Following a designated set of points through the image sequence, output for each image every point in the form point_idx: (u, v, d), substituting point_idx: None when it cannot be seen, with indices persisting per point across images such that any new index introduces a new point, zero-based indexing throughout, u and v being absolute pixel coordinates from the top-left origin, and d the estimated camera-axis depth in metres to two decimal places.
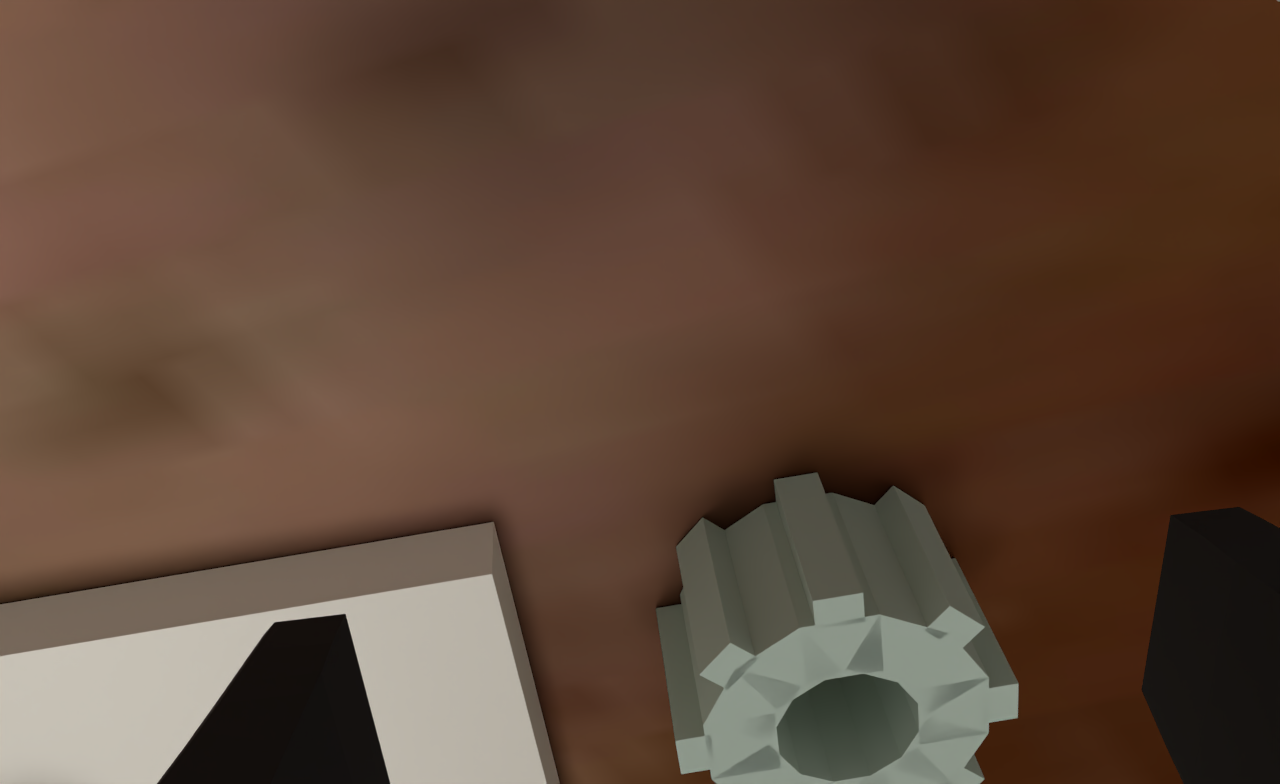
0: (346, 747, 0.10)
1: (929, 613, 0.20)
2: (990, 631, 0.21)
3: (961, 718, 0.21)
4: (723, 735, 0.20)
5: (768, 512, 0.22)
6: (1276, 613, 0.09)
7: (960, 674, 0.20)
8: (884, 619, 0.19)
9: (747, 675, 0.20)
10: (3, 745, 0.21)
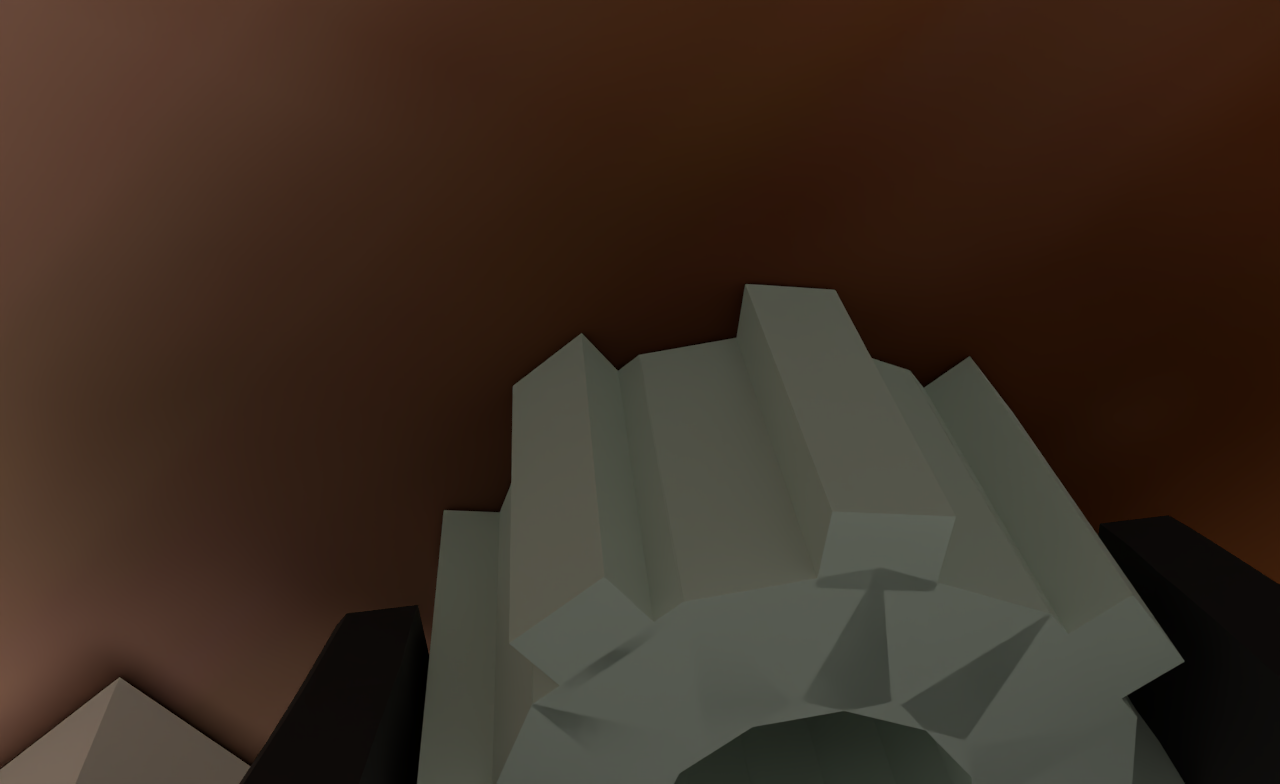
0: None
1: (814, 542, 0.08)
2: (1058, 484, 0.09)
3: (1049, 716, 0.09)
4: None
5: None
6: (1194, 623, 0.09)
7: (974, 635, 0.08)
8: (703, 609, 0.08)
9: None
10: None
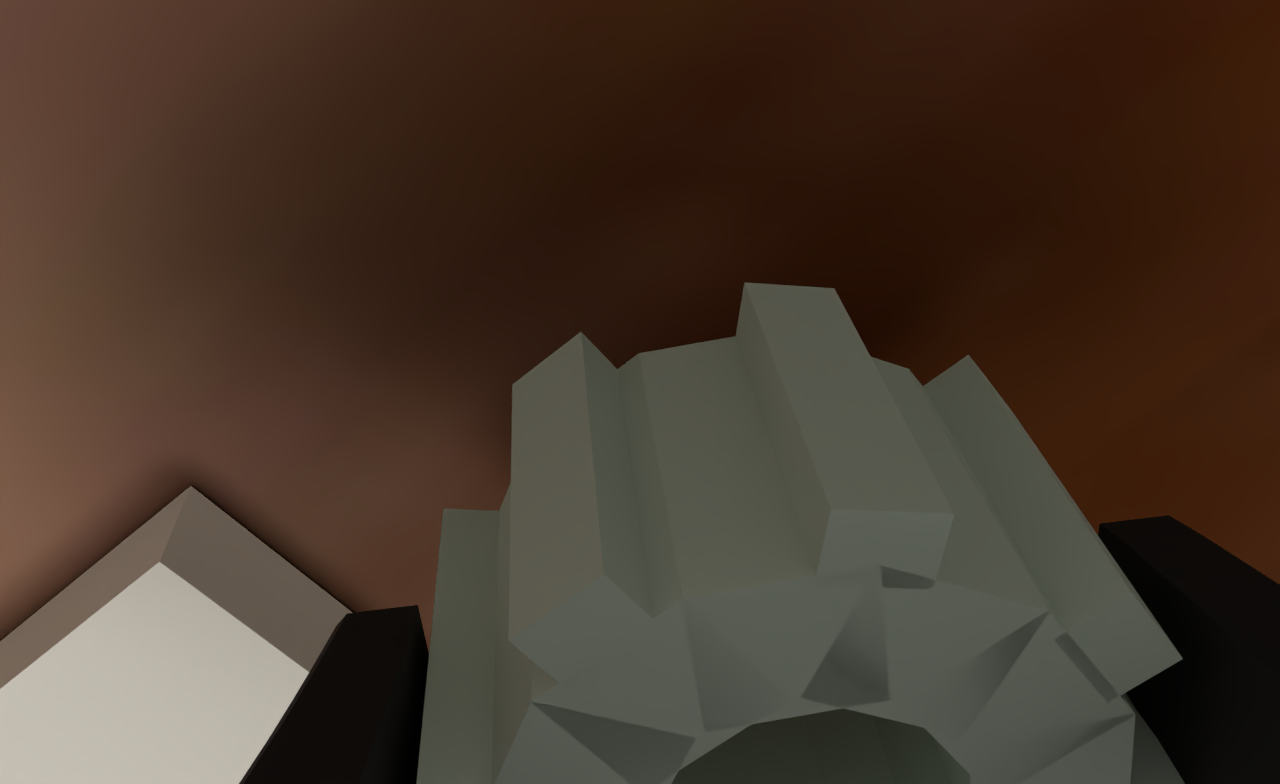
0: None
1: (813, 539, 0.08)
2: (1057, 483, 0.09)
3: (1048, 714, 0.09)
4: None
5: None
6: (1194, 623, 0.09)
7: (974, 633, 0.08)
8: (701, 607, 0.08)
9: None
10: None
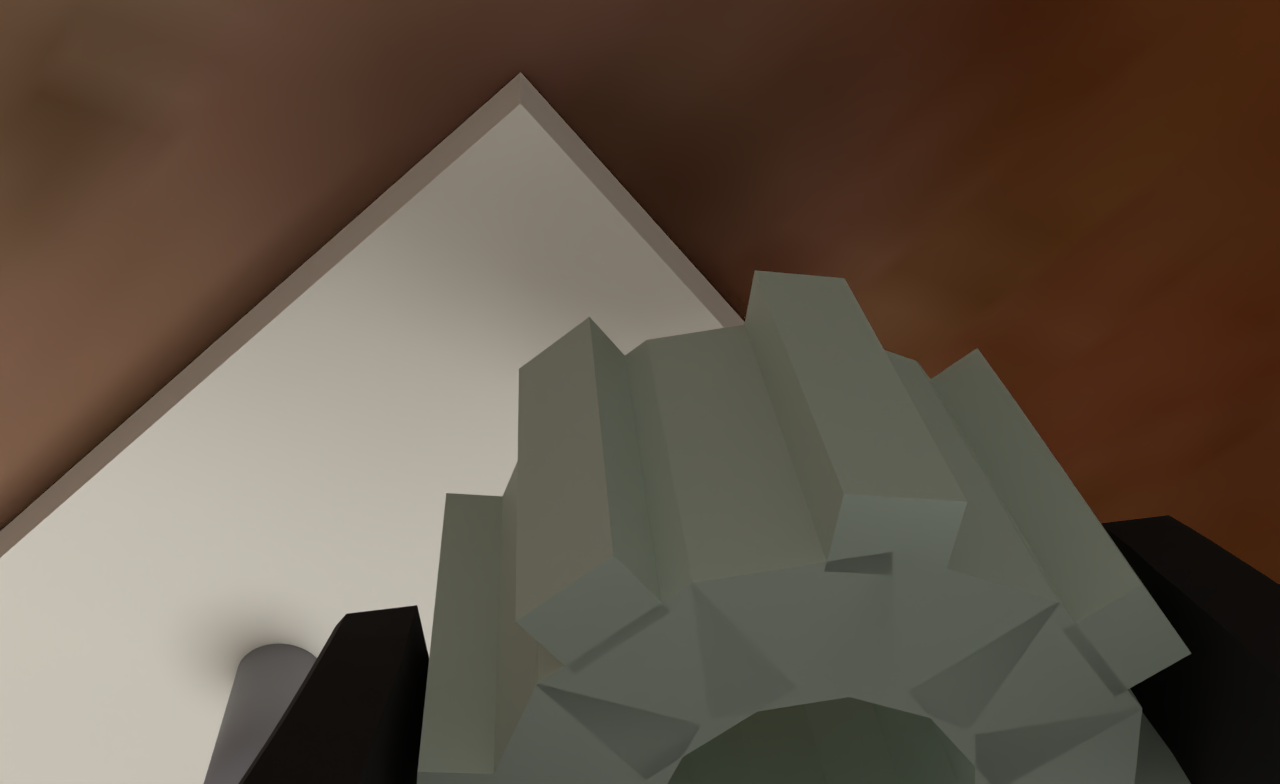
0: None
1: (824, 525, 0.08)
2: None
3: (1055, 707, 0.09)
4: None
5: None
6: (1193, 622, 0.09)
7: (982, 623, 0.08)
8: (710, 590, 0.08)
9: None
10: (160, 589, 0.18)
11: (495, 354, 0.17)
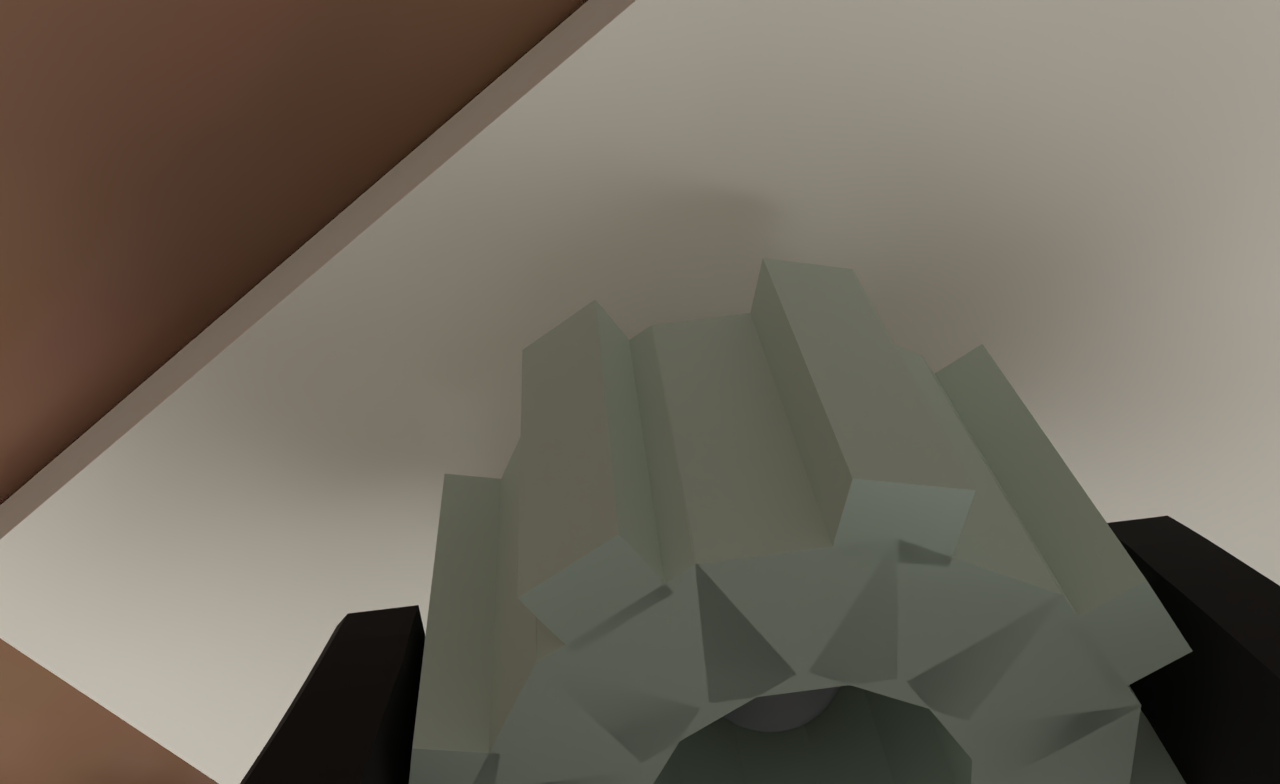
0: None
1: (830, 511, 0.08)
2: None
3: (1054, 701, 0.09)
4: None
5: None
6: (1194, 623, 0.09)
7: (987, 614, 0.08)
8: (713, 572, 0.08)
9: None
10: (577, 300, 0.13)
11: None
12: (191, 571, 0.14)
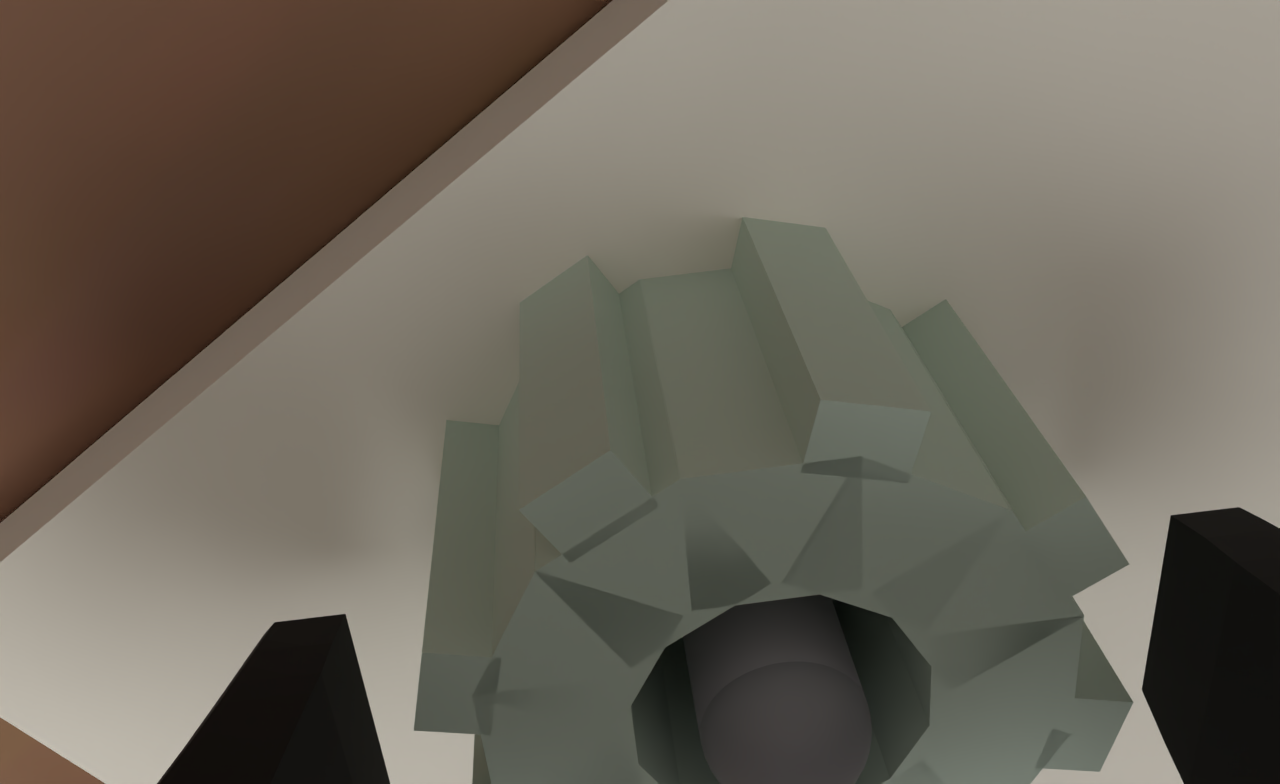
0: (346, 747, 0.10)
1: (801, 432, 0.09)
2: None
3: (1005, 611, 0.09)
4: None
5: None
6: (1276, 613, 0.09)
7: (941, 528, 0.09)
8: (698, 486, 0.09)
9: (506, 697, 0.09)
10: None
11: None
12: (168, 625, 0.13)
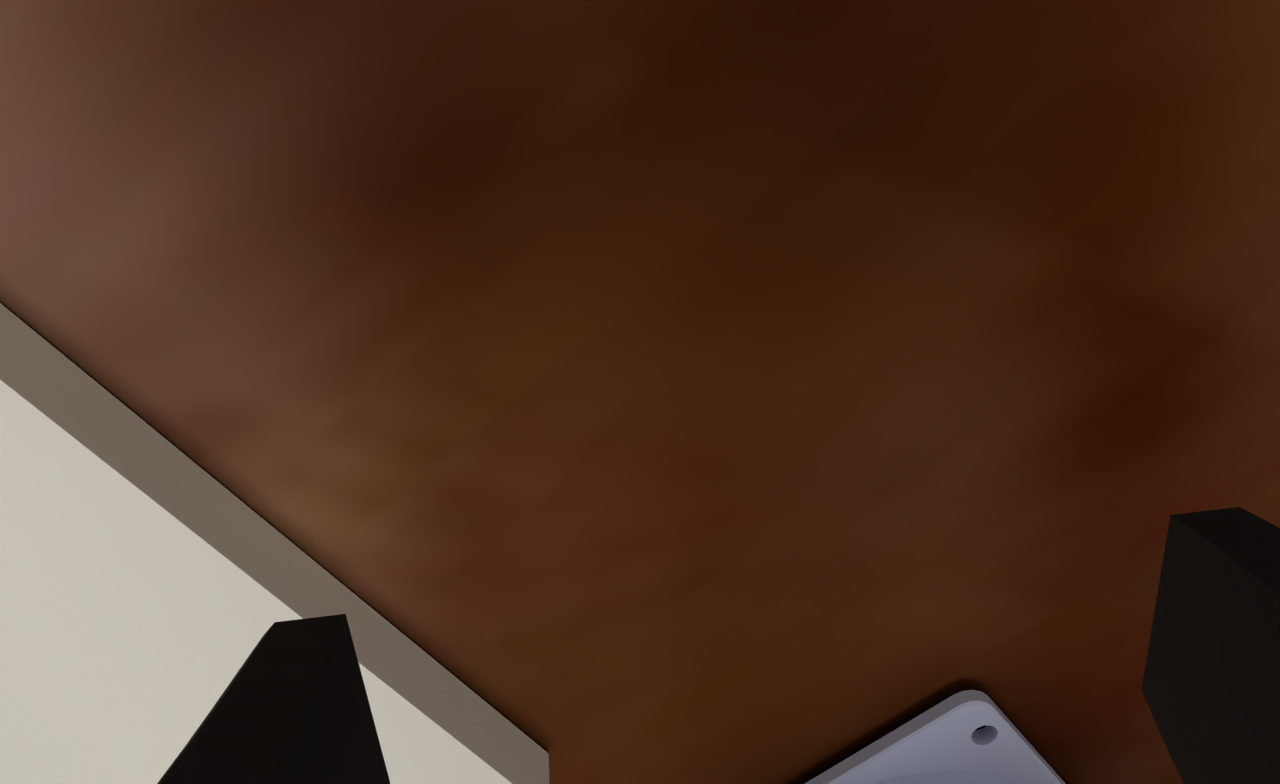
0: (346, 747, 0.10)
1: None
2: None
3: None
4: None
5: None
6: (1276, 613, 0.09)
7: None
8: None
9: None
10: None
11: None
12: None
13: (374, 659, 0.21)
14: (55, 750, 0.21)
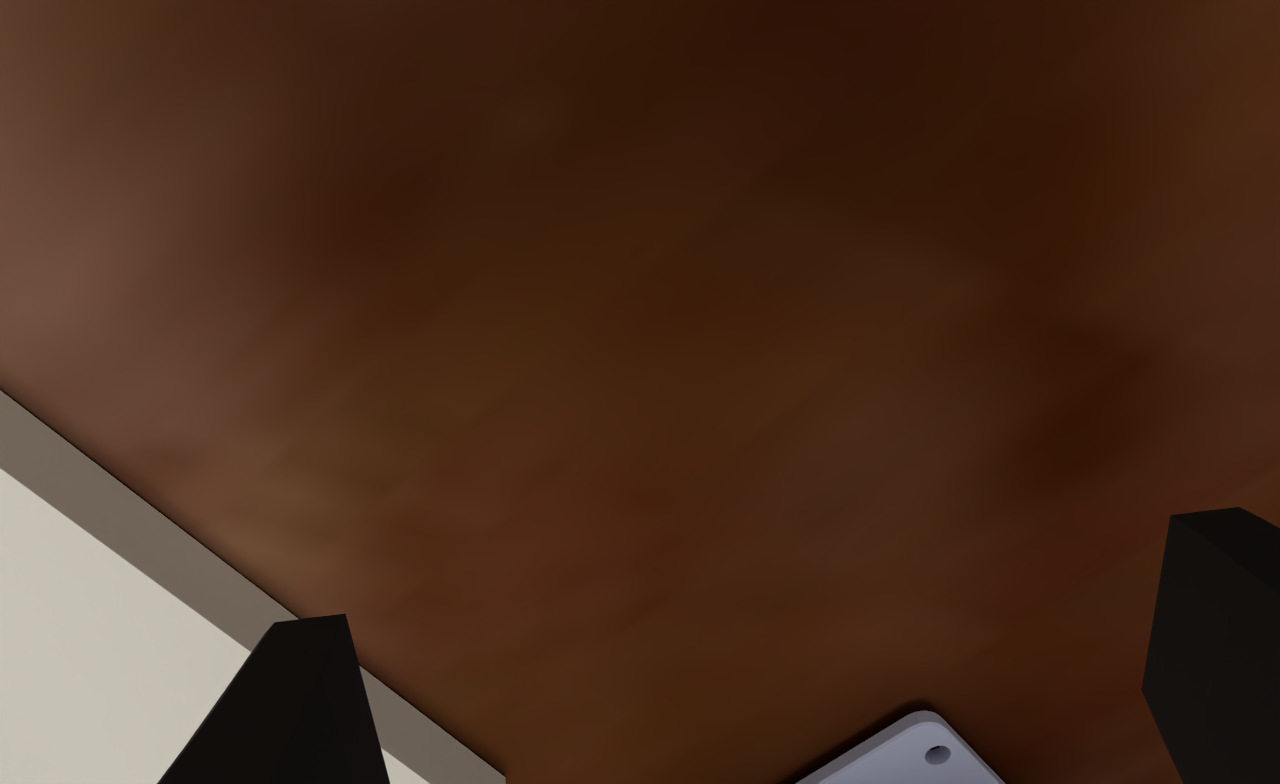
0: (346, 747, 0.10)
1: None
2: None
3: None
4: None
5: None
6: (1276, 613, 0.09)
7: None
8: None
9: None
10: None
11: None
12: None
13: None
14: (11, 783, 0.21)
